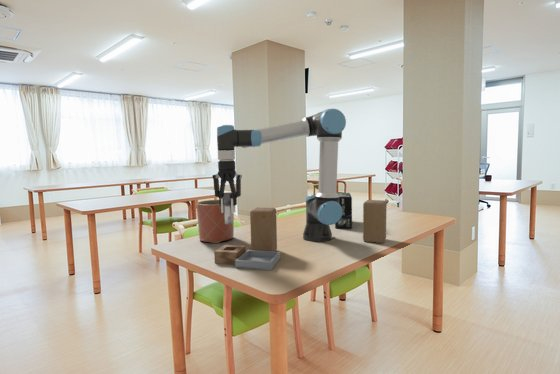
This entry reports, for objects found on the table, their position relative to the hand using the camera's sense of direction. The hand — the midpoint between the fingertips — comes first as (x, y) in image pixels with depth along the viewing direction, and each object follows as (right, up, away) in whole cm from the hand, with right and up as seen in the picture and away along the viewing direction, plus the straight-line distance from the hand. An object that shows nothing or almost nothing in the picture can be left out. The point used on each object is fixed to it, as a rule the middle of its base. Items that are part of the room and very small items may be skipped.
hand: (228, 212), depth 150 cm
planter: (-10, -17, +26) cm, 33 cm away
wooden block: (+16, -19, +1) cm, 25 cm away
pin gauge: (0, -5, +1) cm, 5 cm away
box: (+62, -12, +56) cm, 85 cm away
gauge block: (+2, -20, -9) cm, 22 cm away
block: (+71, -16, +18) cm, 75 cm away
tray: (+15, -20, -13) cm, 28 cm away
